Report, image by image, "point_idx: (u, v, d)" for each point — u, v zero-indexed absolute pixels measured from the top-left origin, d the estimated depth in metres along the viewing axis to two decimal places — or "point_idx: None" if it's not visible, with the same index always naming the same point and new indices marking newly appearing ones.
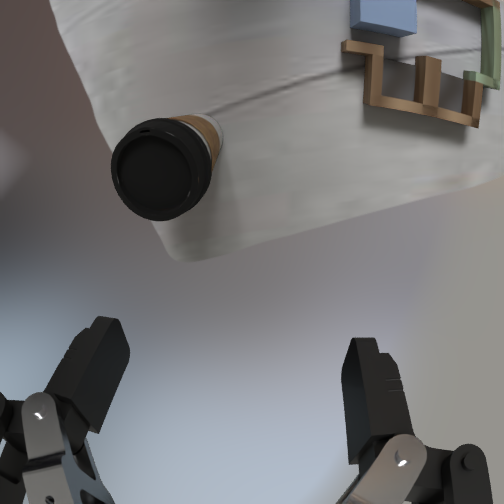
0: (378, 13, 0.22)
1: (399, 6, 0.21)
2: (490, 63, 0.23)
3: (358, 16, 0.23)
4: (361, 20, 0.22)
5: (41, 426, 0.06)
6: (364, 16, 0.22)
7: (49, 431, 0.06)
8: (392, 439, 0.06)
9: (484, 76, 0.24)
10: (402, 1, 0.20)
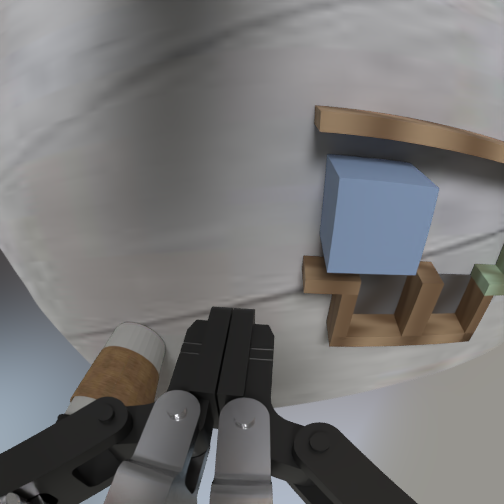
0: (359, 256, 0.18)
1: (398, 239, 0.17)
2: None
3: (327, 253, 0.19)
4: (328, 270, 0.19)
5: (169, 430, 0.06)
6: (334, 264, 0.18)
7: (176, 439, 0.06)
8: (235, 400, 0.07)
9: (499, 286, 0.20)
10: (406, 227, 0.17)
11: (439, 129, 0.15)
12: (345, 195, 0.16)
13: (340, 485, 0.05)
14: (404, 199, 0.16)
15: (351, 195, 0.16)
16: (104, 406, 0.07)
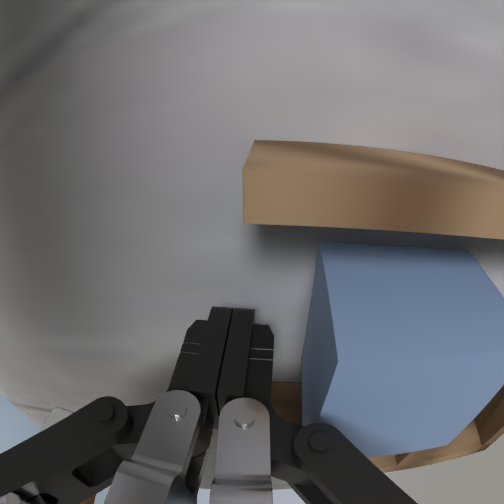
0: (361, 445, 0.08)
1: (435, 421, 0.08)
2: None
3: None
4: None
5: (169, 430, 0.06)
6: None
7: (176, 439, 0.06)
8: (235, 400, 0.07)
9: None
10: (455, 407, 0.07)
11: None
12: (345, 387, 0.07)
13: (340, 485, 0.05)
14: (468, 375, 0.06)
15: (362, 385, 0.07)
16: (104, 406, 0.07)
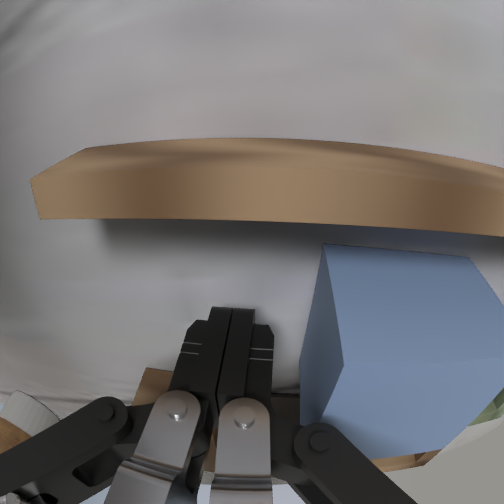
0: (359, 448, 0.09)
1: (433, 425, 0.08)
2: None
3: None
4: None
5: (169, 430, 0.06)
6: None
7: (176, 439, 0.06)
8: (235, 400, 0.07)
9: (476, 417, 0.11)
10: (453, 412, 0.07)
11: (323, 171, 0.06)
12: (349, 390, 0.07)
13: (340, 485, 0.05)
14: (468, 380, 0.06)
15: (365, 389, 0.07)
16: (104, 406, 0.07)
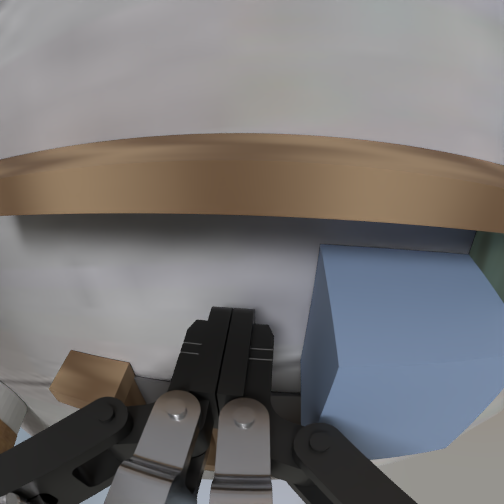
0: (359, 448, 0.08)
1: (434, 425, 0.08)
2: None
3: None
4: None
5: (169, 429, 0.06)
6: None
7: (176, 439, 0.06)
8: (235, 400, 0.07)
9: None
10: (454, 411, 0.07)
11: (97, 167, 0.06)
12: (346, 392, 0.07)
13: (340, 485, 0.05)
14: (468, 380, 0.06)
15: (362, 390, 0.06)
16: (104, 406, 0.07)
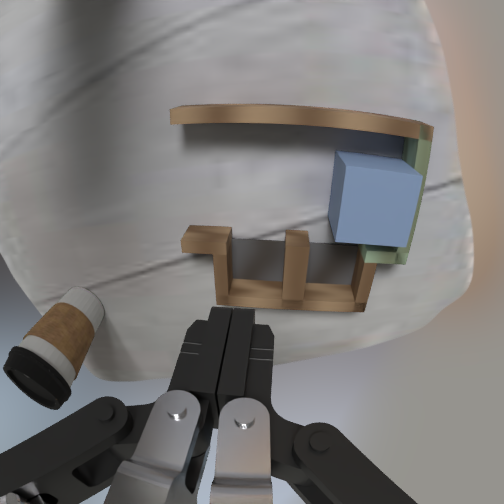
0: (360, 229, 0.23)
1: (391, 215, 0.22)
2: None
3: (335, 227, 0.24)
4: (336, 240, 0.24)
5: (169, 430, 0.06)
6: (341, 235, 0.23)
7: (176, 439, 0.06)
8: (235, 400, 0.07)
9: (380, 253, 0.26)
10: (397, 206, 0.21)
11: (268, 108, 0.21)
12: (350, 179, 0.21)
13: (340, 485, 0.05)
14: (395, 184, 0.21)
15: (355, 179, 0.21)
16: (104, 406, 0.07)
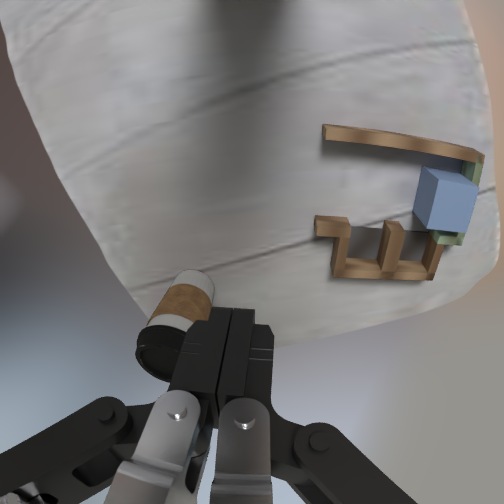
0: (442, 220, 0.31)
1: (459, 212, 0.30)
2: None
3: (425, 219, 0.32)
4: (427, 227, 0.32)
5: (169, 429, 0.06)
6: (430, 224, 0.32)
7: (176, 439, 0.06)
8: (235, 400, 0.07)
9: (447, 237, 0.34)
10: (464, 206, 0.30)
11: (393, 136, 0.29)
12: (439, 188, 0.29)
13: (340, 485, 0.05)
14: (464, 192, 0.29)
15: (442, 188, 0.29)
16: (104, 406, 0.07)
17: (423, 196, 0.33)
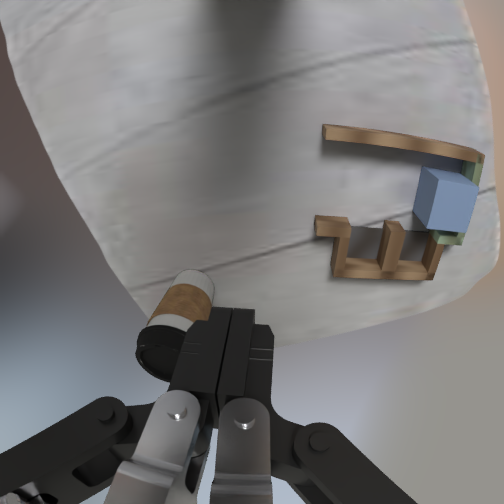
0: (442, 220, 0.31)
1: (459, 212, 0.30)
2: None
3: (425, 218, 0.32)
4: (427, 227, 0.32)
5: (169, 430, 0.06)
6: (430, 224, 0.32)
7: (176, 439, 0.06)
8: (235, 400, 0.07)
9: (447, 237, 0.34)
10: (464, 206, 0.30)
11: (393, 136, 0.29)
12: (439, 188, 0.29)
13: (340, 485, 0.05)
14: (464, 191, 0.29)
15: (442, 188, 0.29)
16: (104, 406, 0.07)
17: (423, 196, 0.33)
